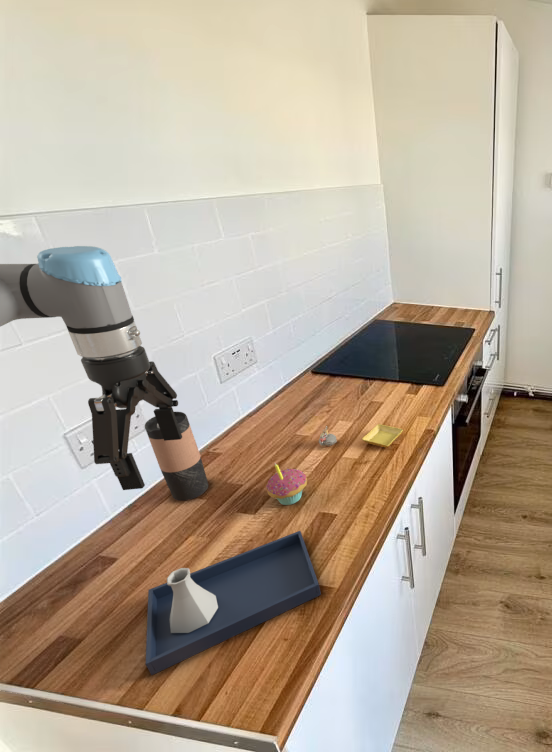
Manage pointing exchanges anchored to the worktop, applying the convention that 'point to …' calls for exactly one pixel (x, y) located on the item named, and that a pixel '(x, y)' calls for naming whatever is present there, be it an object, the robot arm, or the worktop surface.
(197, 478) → the travel mug
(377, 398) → the worktop surface
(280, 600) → the tray
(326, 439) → the figurine
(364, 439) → the saucer
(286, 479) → the cupcake
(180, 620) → the flask
